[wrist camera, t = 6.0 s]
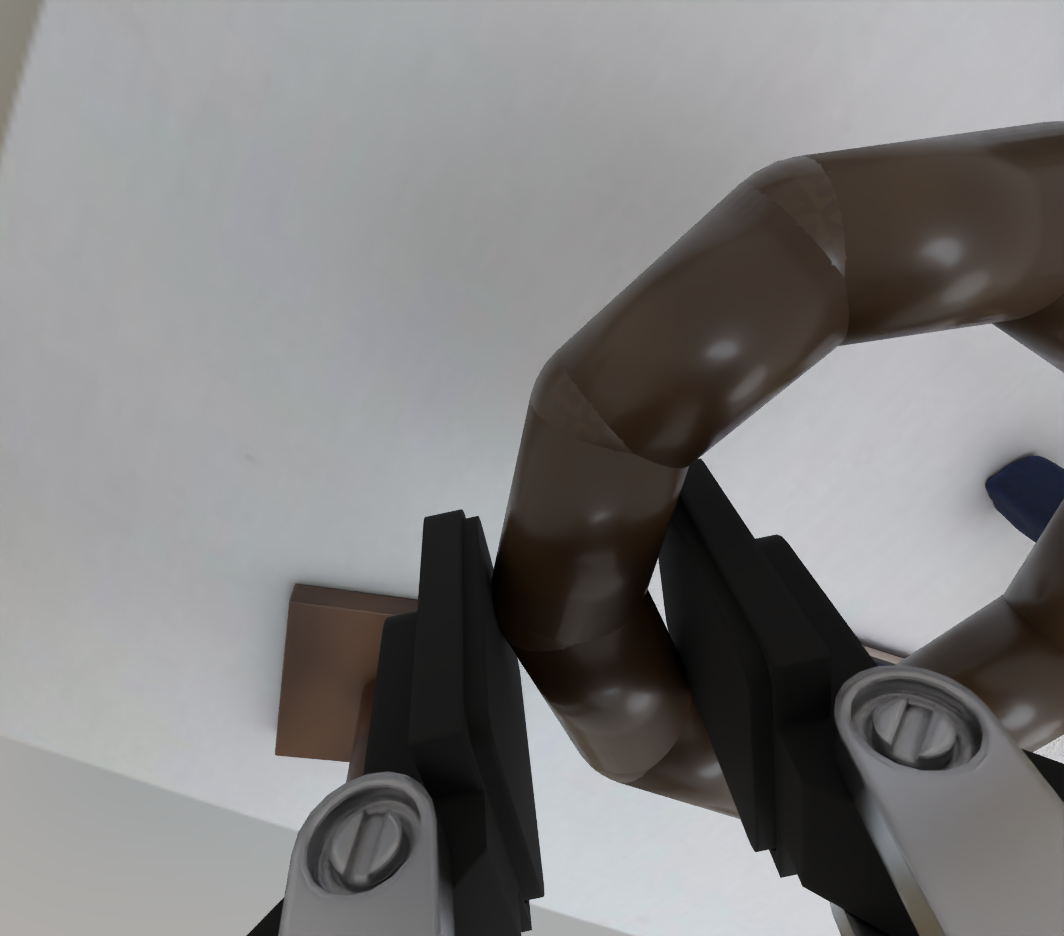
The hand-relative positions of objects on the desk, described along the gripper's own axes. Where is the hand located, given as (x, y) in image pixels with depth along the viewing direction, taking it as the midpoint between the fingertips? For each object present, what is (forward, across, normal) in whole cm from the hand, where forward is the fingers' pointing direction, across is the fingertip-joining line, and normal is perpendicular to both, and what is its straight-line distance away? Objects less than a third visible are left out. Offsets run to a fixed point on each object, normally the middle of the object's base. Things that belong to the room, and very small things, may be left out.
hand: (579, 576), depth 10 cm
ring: (-1, -4, 0) cm, 4 cm away
